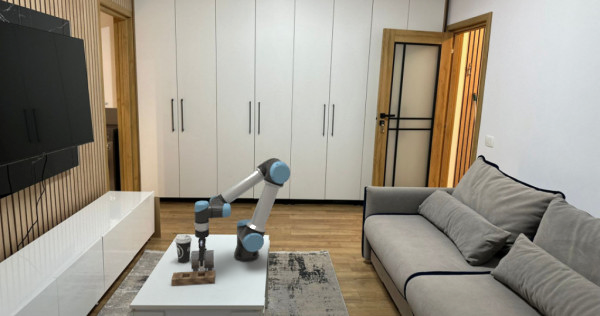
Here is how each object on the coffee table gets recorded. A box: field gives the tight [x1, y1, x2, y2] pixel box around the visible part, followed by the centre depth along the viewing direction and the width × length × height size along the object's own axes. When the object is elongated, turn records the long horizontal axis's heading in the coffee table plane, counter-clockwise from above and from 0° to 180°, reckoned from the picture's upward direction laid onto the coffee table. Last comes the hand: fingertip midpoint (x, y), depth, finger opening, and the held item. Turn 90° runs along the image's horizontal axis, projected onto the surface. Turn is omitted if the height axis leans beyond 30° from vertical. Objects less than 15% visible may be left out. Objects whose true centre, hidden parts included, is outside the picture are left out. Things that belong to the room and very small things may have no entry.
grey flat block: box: [190, 249, 215, 272], centre depth 224 cm, size 12×4×12 cm, turn 100°
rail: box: [170, 269, 216, 287], centre depth 214 cm, size 22×8×4 cm, turn 100°
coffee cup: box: [174, 233, 193, 264], centre depth 237 cm, size 10×10×15 cm
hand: (202, 266), depth 224 cm, fingers open, 11 cm apart
